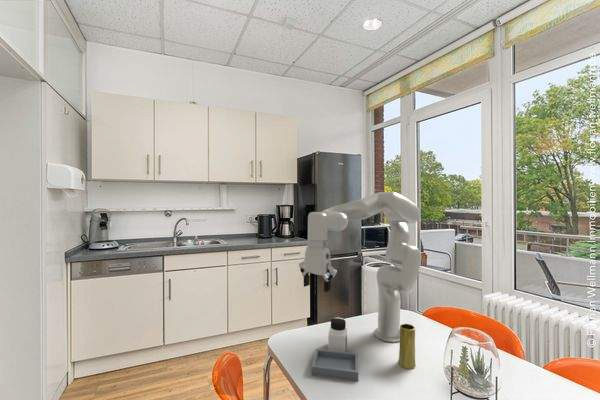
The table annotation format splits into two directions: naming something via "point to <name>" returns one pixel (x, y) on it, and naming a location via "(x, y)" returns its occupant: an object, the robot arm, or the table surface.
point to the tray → (335, 364)
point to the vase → (407, 346)
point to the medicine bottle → (337, 335)
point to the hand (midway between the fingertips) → (316, 288)
